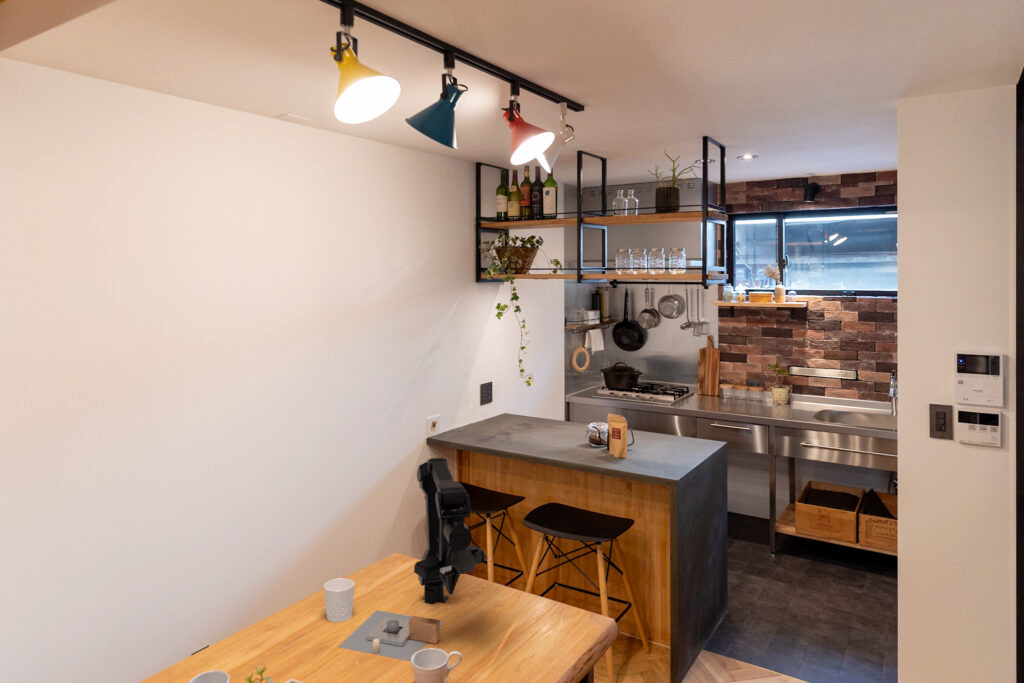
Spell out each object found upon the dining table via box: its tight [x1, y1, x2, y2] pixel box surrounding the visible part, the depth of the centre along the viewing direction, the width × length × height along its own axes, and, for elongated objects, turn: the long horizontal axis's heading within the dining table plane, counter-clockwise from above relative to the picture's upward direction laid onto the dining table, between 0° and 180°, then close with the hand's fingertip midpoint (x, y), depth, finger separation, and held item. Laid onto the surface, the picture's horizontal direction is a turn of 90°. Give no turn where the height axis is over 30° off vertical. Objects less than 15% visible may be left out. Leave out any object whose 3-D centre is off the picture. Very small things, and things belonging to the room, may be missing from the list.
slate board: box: [338, 609, 445, 662], centre depth 176 cm, size 20×20×4 cm
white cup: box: [323, 577, 355, 623], centre depth 184 cm, size 8×8×10 cm
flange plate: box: [366, 615, 441, 646], centre depth 174 cm, size 18×10×5 cm, turn 73°
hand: (450, 593), depth 176 cm, fingers closed
